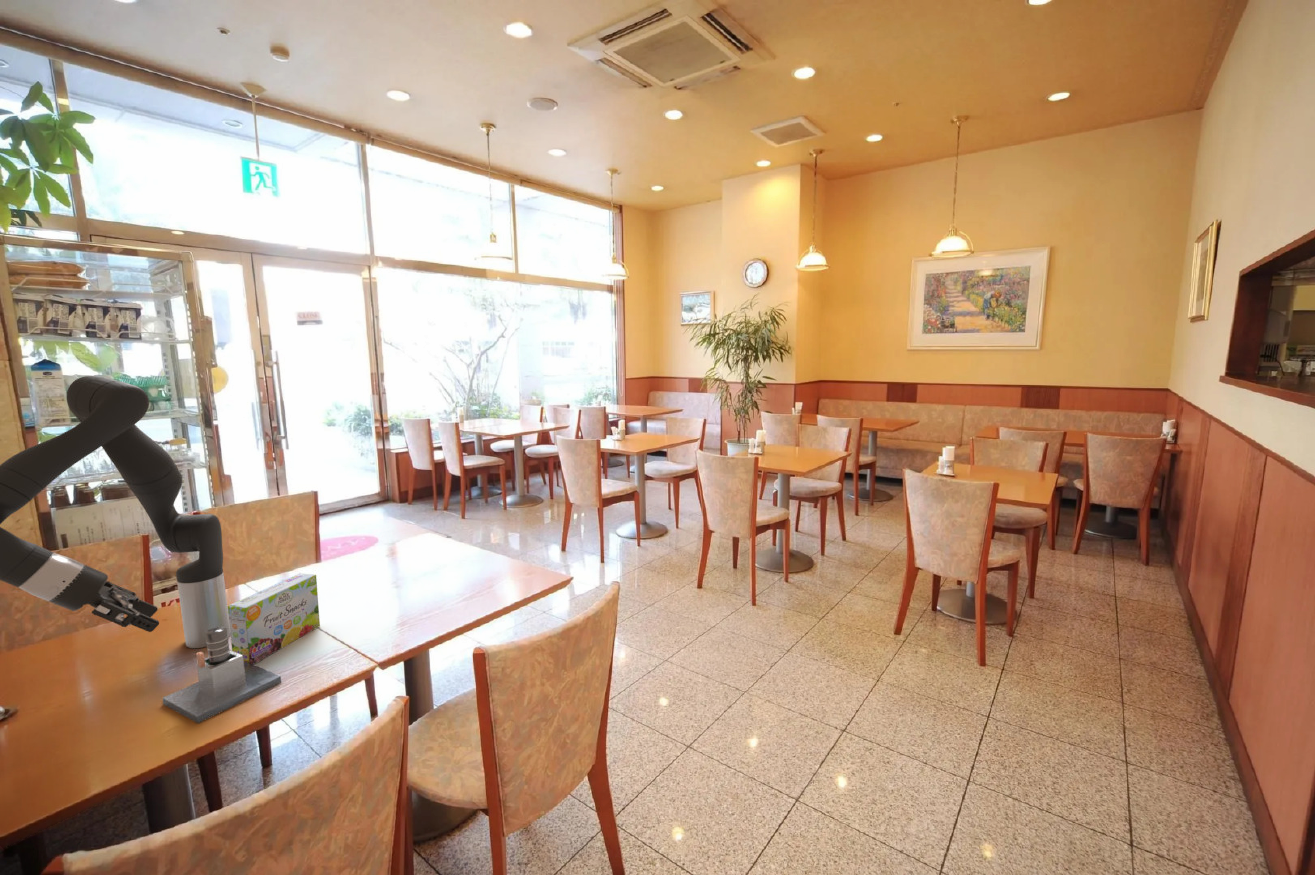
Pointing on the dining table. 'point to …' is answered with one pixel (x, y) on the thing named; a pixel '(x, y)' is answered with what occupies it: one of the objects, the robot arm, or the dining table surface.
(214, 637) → the grey round-topped cylinder
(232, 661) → the grey square socket base
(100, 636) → the dining table surface
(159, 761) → the dining table surface
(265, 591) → the snack box
